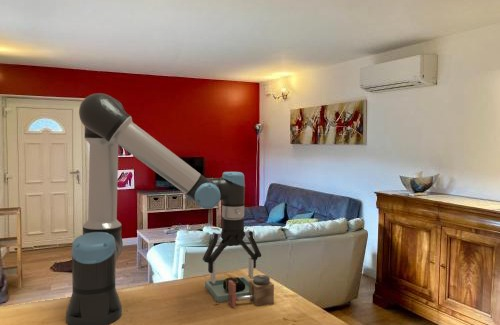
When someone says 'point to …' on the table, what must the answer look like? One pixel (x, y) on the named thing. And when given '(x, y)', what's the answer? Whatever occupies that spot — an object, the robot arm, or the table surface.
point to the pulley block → (261, 290)
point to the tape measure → (239, 284)
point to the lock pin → (232, 294)
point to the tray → (220, 292)
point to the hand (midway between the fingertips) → (232, 279)
